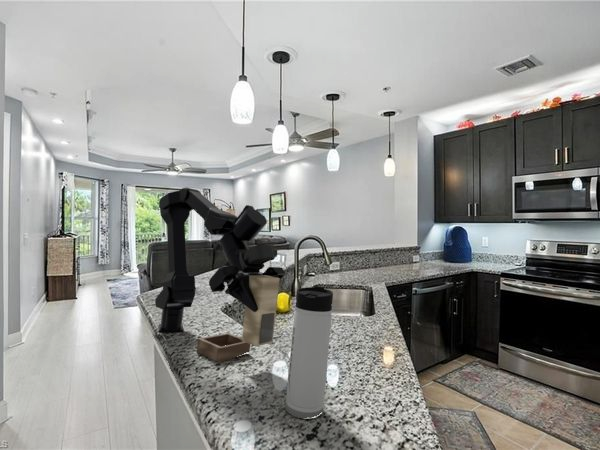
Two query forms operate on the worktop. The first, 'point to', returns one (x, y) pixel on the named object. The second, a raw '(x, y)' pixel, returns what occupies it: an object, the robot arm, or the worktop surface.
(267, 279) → the block
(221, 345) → the post socket
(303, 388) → the travel mug
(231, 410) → the worktop surface
